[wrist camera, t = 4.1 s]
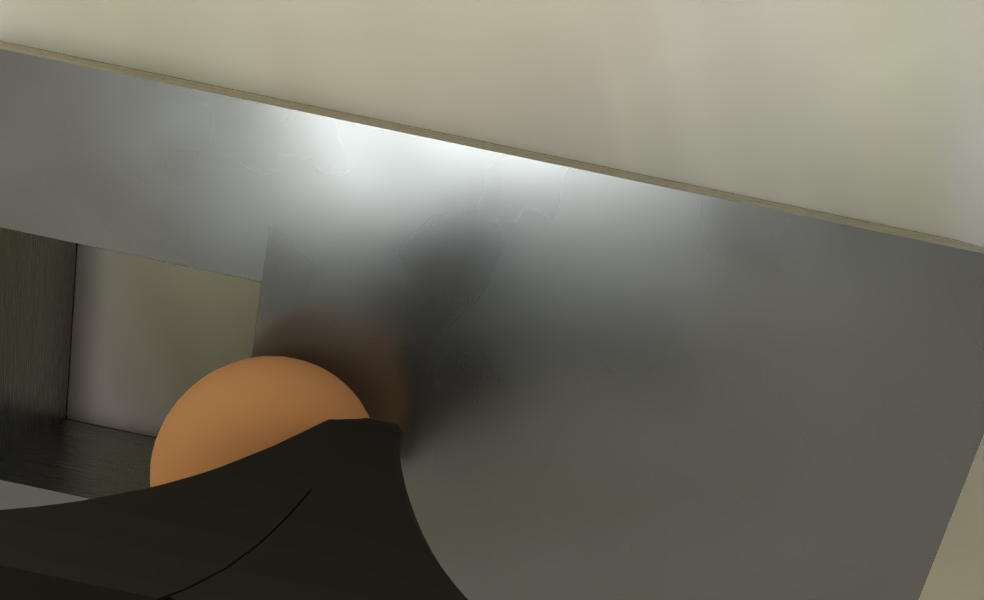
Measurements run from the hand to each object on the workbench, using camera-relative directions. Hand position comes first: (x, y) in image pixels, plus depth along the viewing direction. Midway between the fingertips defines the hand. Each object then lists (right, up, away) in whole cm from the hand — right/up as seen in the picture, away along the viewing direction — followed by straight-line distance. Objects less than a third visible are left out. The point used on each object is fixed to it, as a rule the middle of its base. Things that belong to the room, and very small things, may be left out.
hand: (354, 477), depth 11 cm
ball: (-1, 0, 0) cm, 1 cm away
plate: (+1, +1, +4) cm, 4 cm away
